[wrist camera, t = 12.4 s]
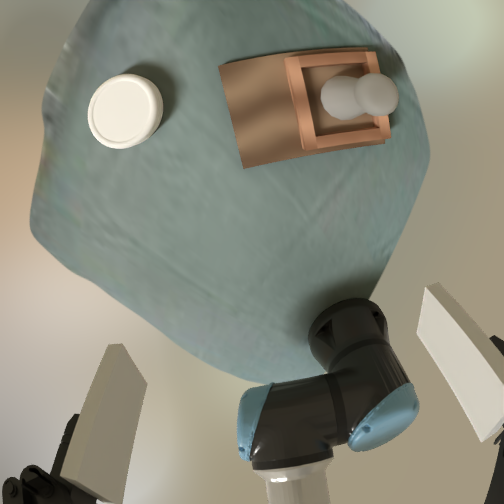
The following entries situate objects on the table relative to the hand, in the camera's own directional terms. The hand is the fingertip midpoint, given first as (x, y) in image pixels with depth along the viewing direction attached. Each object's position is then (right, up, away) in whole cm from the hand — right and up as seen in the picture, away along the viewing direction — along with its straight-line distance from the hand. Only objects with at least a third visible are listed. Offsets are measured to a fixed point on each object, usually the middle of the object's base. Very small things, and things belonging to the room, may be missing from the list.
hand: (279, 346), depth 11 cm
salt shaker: (+10, +24, +22) cm, 33 cm away
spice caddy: (+6, +23, +23) cm, 33 cm away
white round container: (-18, +23, +22) cm, 36 cm away
